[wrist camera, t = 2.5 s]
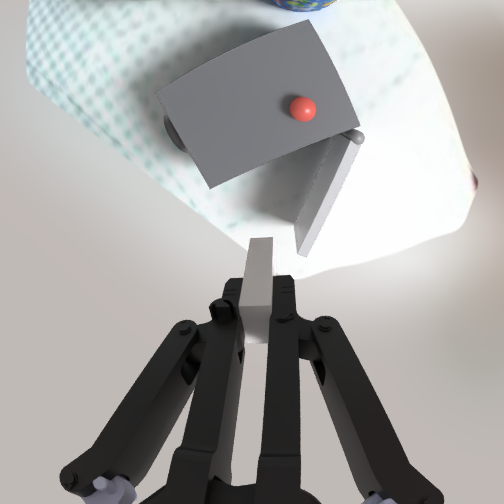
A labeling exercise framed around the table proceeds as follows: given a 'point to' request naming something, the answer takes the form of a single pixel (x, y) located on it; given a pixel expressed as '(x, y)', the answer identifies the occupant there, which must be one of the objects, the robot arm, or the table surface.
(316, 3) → the snack cup
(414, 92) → the table surface
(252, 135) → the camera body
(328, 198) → the door
